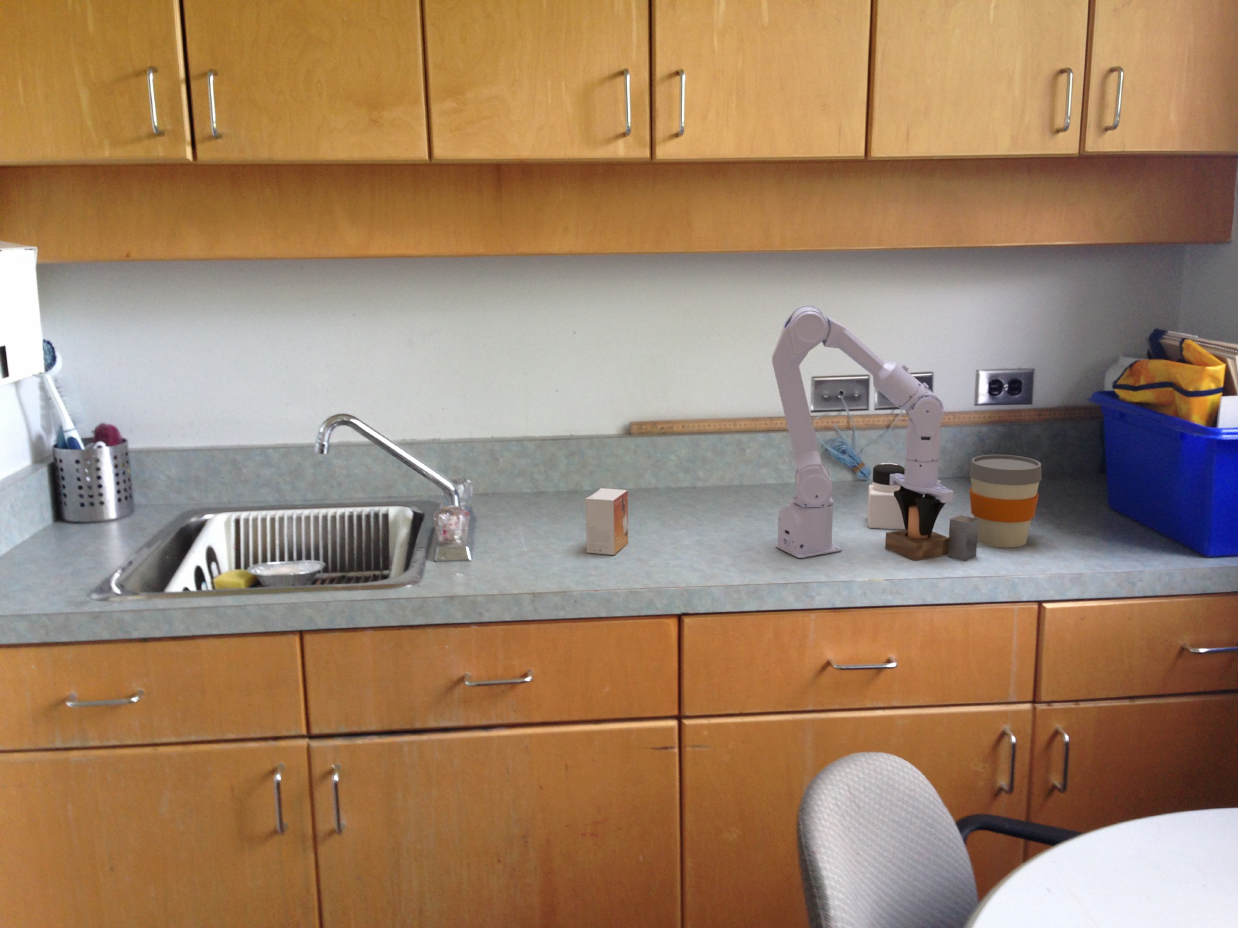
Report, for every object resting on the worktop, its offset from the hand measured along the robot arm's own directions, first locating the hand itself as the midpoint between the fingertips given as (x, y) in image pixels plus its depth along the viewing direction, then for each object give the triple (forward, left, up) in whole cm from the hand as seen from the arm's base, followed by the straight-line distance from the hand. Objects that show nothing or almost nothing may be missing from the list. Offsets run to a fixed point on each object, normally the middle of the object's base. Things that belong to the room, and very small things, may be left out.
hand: (918, 531), depth 187 cm
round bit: (0, 0, -2) cm, 2 cm away
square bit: (+5, -6, -4) cm, 9 cm away
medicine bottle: (+6, +16, -4) cm, 18 cm away
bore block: (0, 0, -4) cm, 4 cm away
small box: (-49, +28, -4) cm, 57 cm away
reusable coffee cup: (+18, -2, -4) cm, 19 cm away
